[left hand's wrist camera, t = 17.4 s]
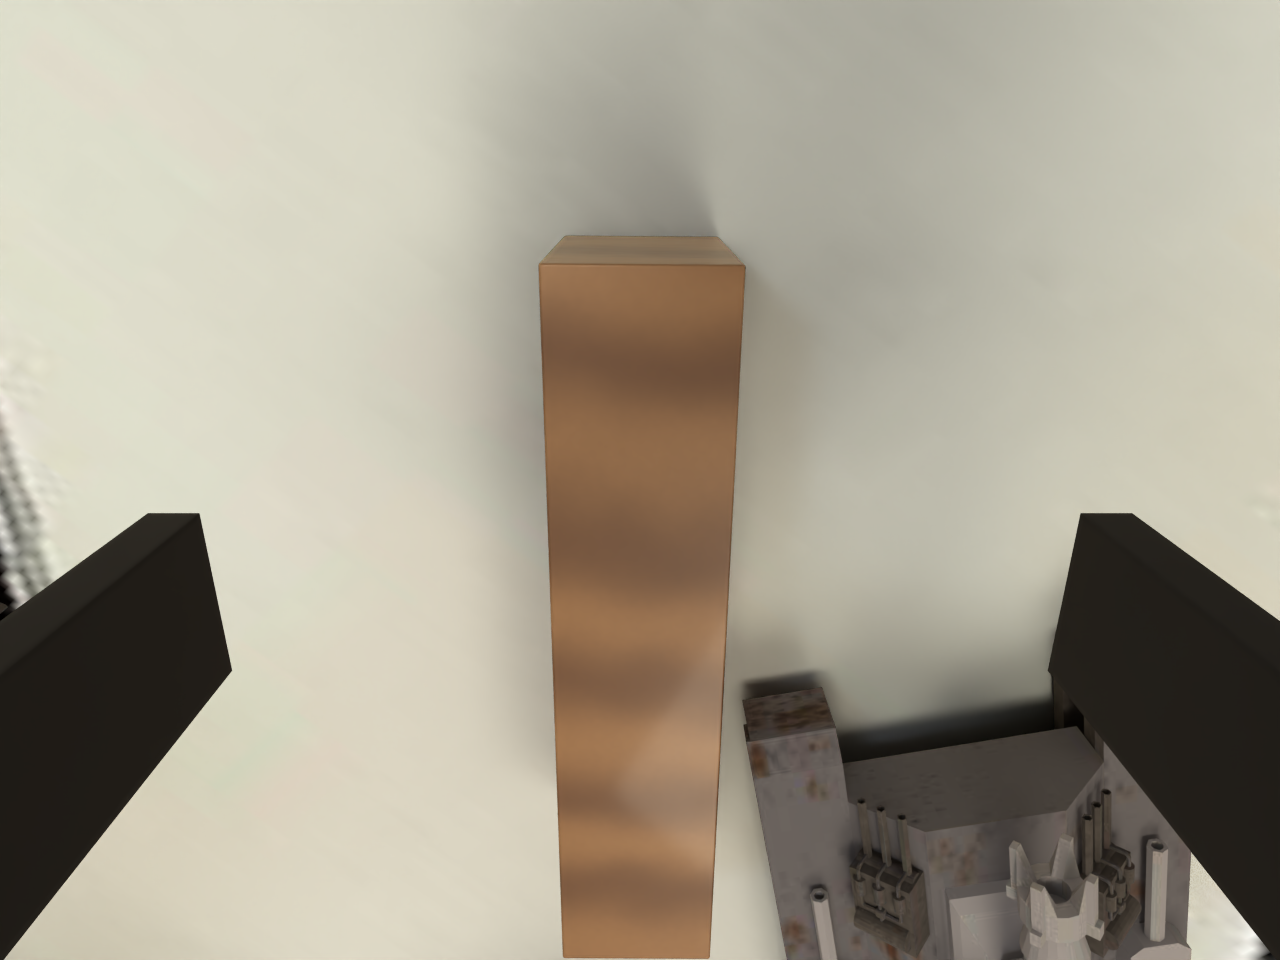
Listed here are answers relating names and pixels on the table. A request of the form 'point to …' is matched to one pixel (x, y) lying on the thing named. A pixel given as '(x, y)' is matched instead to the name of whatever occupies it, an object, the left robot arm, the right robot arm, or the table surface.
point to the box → (639, 578)
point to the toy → (963, 845)
